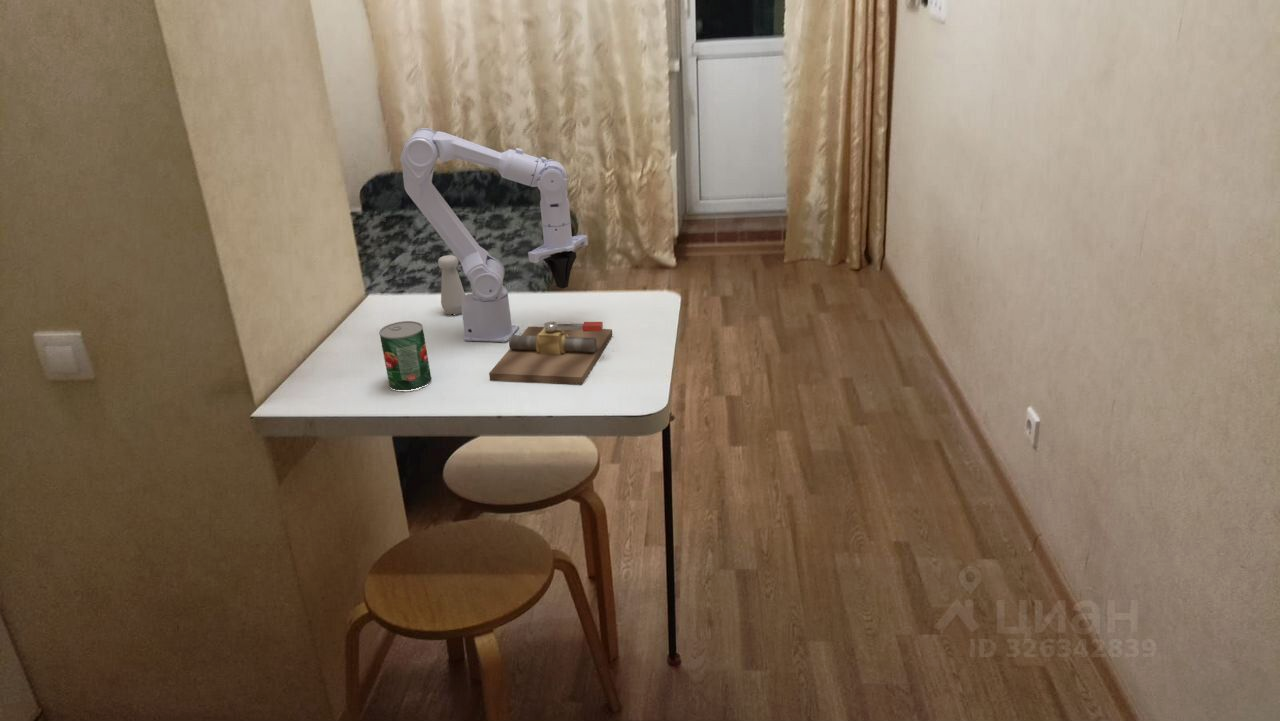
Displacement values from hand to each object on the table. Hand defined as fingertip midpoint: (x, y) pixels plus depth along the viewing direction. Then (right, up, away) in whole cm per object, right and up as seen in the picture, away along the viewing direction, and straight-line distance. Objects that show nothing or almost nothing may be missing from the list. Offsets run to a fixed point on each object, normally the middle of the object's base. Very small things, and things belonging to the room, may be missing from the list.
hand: (562, 286), depth 191 cm
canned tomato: (-27, -20, -16) cm, 37 cm away
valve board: (-1, -15, -9) cm, 17 cm away
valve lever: (+3, -9, -12) cm, 16 cm away
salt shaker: (-25, -5, +17) cm, 31 cm away
